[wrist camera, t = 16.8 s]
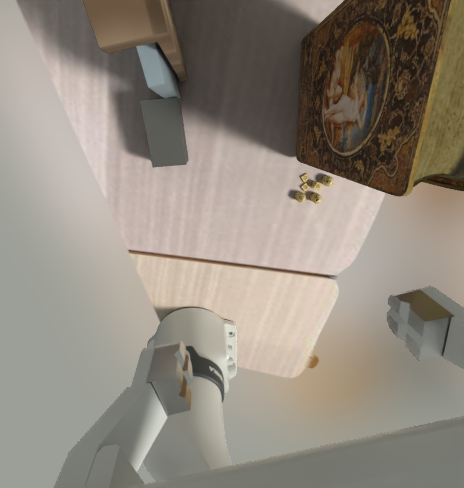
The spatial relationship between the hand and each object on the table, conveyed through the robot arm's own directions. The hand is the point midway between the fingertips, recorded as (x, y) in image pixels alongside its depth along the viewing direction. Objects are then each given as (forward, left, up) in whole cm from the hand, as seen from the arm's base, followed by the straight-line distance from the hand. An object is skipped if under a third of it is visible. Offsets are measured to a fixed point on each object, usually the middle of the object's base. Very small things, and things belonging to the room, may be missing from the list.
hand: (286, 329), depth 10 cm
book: (+8, -15, -34) cm, 38 cm away
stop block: (+8, +7, -34) cm, 36 cm away
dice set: (-5, -13, -35) cm, 38 cm away
